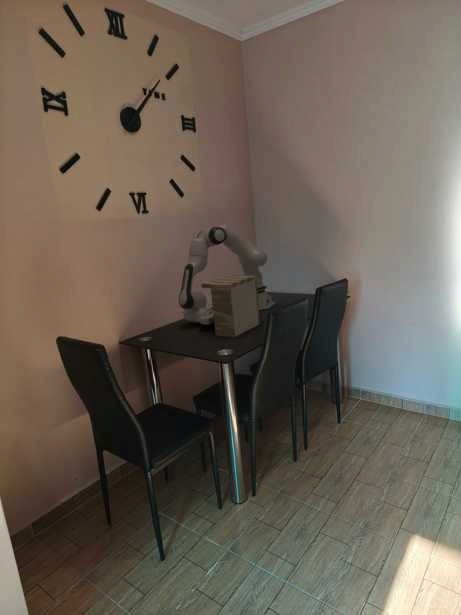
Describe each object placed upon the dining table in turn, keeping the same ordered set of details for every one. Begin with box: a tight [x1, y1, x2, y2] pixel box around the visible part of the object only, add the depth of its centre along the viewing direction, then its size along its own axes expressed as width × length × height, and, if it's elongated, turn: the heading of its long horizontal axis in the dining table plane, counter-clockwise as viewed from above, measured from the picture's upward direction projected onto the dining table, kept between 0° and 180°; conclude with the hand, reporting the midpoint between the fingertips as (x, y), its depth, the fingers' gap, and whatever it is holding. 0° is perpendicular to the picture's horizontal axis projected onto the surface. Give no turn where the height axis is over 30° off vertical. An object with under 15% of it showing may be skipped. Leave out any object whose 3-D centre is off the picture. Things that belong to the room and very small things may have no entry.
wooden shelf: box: [200, 274, 261, 338], centre depth 224 cm, size 26×18×28 cm
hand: (225, 317), depth 229 cm, fingers closed
